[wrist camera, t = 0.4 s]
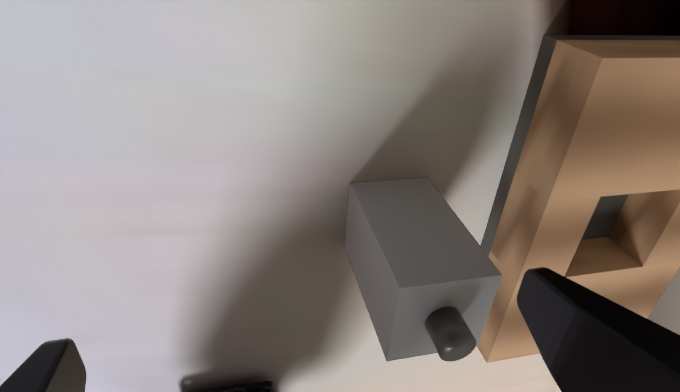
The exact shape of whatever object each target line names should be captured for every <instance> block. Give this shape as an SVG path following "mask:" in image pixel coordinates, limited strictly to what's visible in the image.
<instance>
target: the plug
mask: <svg viewBox="0 0 680 392" xmlns="http://www.w3.org/2000/svg"><path fill="white" fill-rule="evenodd" d="M344 248H345V250H346V253H347V256H348V258H349V261H350V264H351V266H352V269H353V272H354V274H355V277H356V280H357V283H358V285H359V288H360V291H361V293H362V296H363V299H364V301H365V304H366V307H367V310H368V312H369V315H370V318H371V320H372V323H373V326H374V328H375V331H376V334H377V336H378V339H379V342H380V345H381V347H382V350H383V353H384V355H385V358H386V361H391V360H397V359H403V358H409V357H415V356H421V355H427V354H433V353H438V354H439V356H440V358H441V359H442V360H444V361H456V360H459V359H462V358H464V357H466V356H467V355H468V354H470V353H471V352H472V351H473V349H474V348H475V346H478V343H479V340H480V338H481V335H482V332H483V329H484V326H485V323H486V320H487V318H488V315H489V312H490V309H491V306H492V303H493V300H494V298H495V295H496V292H497V289H498V286H499V283H500V280H501V278H502V274H501V272H500V271H499V270H498V269H497V267H496V266H495V265H494V263H493V262H492V261H491V259H490V258H489V257H488V256H487V254H486V253H485V252H484V250H483V249H482V248H481V246H480V245H479V244H478V243H477V241H476V240H475V239H474V237H473V236H472V235H471V233H470V232H469V231H468V230H467V228H466V227H465V226H464V224H463V223H462V222H461V220H460V219H459V218H458V217H457V215H456V214H455V213H454V211H453V210H452V209H451V207H450V206H449V205H448V203H447V202H446V201H445V200H444V198H443V197H442V196H441V194H440V193H439V192H438V190H437V189H436V188H435V187H434V185H433V184H432V183H431V181H430V180H429V179H428V177H424V178H410V179H396V180H382V181H368V182H354V183H350V187H349V199H348V211H347V223H346V235H345V247H344Z"/></svg>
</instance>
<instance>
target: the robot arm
mask: <svg viewBox="0 0 680 392" xmlns="http://www.w3.org/2000/svg"><path fill="white" fill-rule="evenodd" d="M517 305H518V308H519V310H520V312H521V314H522V316H523V318H524V320H525V322H526V325H527V327H528V329H529V331H530V333H531V335H532V337H533V339H534V341H535V343H536V345H537V347H538V349H539V351H540V354H541V356H542V358H543V360H544V362H545V364H546V365H547V367H548V369H549V371H550V373H551V375H552V376H553V378H554V380H555V382H556V383H557V385H558V386H559V388H560V390H561V391H562V392H680V335H678V334H676V333H674V332H672V331H670V330H668V329H666V328H664V327H662V326H661V325H659V324H657V323H654V322H653V321H651V320H649V319H647V318H645V317H643V316H641V315H639V314H637V313H635V312H633V311H631V310H629V309H627V308H625V307H623V306H621V305H619V304H617V303H615V302H613V301H611V300H609V299H608V298H606V297H604V296H602V295H600V294H598V293H596V292H594V291H592V290H590V289H588V288H586V287H584V286H582V285H580V284H578V283H576V282H574V281H572V280H570V279H568V278H566V277H564V276H562V275H560V274H558V273H556V272H555V271H553V270H551V269H549V268H546V267H539V268H533V269H528V270H527V271H526V272H525V273H524V276H523V279H522V282H521V285H520V288H519V291H518V294H517ZM85 385H86V370H85V366H84V364H83V361H82V359H81V357H80V354H79V352H78V350H77V347H76V345H75V343H74V341H73V340H72V339H68V338H66V339H59V340H52V341H47V342H45V343H43V344H42V345H41V346H39V347H38V348H37V349H36V350H35V351H34V352H33V353H32V354H31V355H30V356H29V357H28V359H27V360H26V361H25V362H24V363H23V364H22V365H21V366H20V367H19V368H18V369H17V370H16V371H15V372H14V373H13V374H12V375H11V376H10V377H9V378H8V379H7V380H6V381H5V382H4V383H3V384H2V385H1V386H0V392H85ZM205 392H275V389H274V383H273V382H271V381H264V382H258V383H252V384H246V385H240V386H235V387H229V388H223V389H217V390H211V391H205Z"/></svg>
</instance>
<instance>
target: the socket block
mask: <svg viewBox="0 0 680 392" xmlns="http://www.w3.org/2000/svg"><path fill="white" fill-rule="evenodd" d="M481 248H482V249H483V250H484V252H485V253H486V254H487V256H488V257H489V258H490V259H491V261H492V262H493V263H494V265H495V266H496V267H497V269H498V270H499V271H500V272H501V274H502V278H501V280H500V283H499V286H498V289H497V292H496V295H495V298H494V300H493V303H492V306H491V309H490V312H489V315H488V318H487V320H486V323H485V326H484V329H483V332H482V335H481V338H480V340H479V343H478V346H477V347H478V349H479V350H480V352H481V354H482V355H483V357H484V359H485V361H486V362H487V363H488V362H494V361H499V360H505V359H511V358H516V357H522V356H527V355H533V354H539V353H540V351H539V349H538V347H537V345H536V343H535V341H534V339H533V337H532V335H531V333H530V331H529V329H528V327H527V325H526V322H525V320H524V318H523V316H522V314H521V312H520V310H519V308H518V305H517V294H518V291H519V288H520V285H521V282H522V279H523V276H524V273H525V272H526V271H527V270H528V269H533V268H539V267H546V268H549V269H551V270H553V271H555V272H556V273H558V274H560V275H562V276H564V277H566V278H568V279H570V280H572V281H574V282H576V283H578V284H580V285H582V286H584V287H586V288H588V289H590V290H592V291H594V292H596V293H598V294H600V295H602V296H604V297H606V298H608V299H609V300H611V301H613V302H615V303H617V304H619V305H621V306H623V307H625V308H627V309H629V310H631V311H633V312H635V313H637V314H639V315H641V316H643V317H645V318H648V316H649V314H650V313H651V311H652V310H653V308H654V307H655V305H656V303H657V302H658V300H659V298H660V297H661V296H662V294H663V292H664V291H665V289H666V288H667V286H668V285H669V283H670V281H671V280H672V278H673V277H674V275H675V273H676V272H677V270H678V269H679V267H680V36H637V35H544V37H543V41H542V44H541V47H540V51H539V54H538V57H537V61H536V64H535V67H534V71H533V74H532V77H531V81H530V84H529V87H528V91H527V94H526V97H525V101H524V104H523V107H522V111H521V114H520V117H519V121H518V124H517V127H516V131H515V134H514V137H513V141H512V144H511V147H510V151H509V154H508V157H507V161H506V164H505V167H504V171H503V174H502V177H501V181H500V184H499V187H498V191H497V194H496V197H495V201H494V204H493V207H492V211H491V214H490V217H489V221H488V224H487V227H486V231H485V234H484V237H483V241H482V244H481Z"/></svg>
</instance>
